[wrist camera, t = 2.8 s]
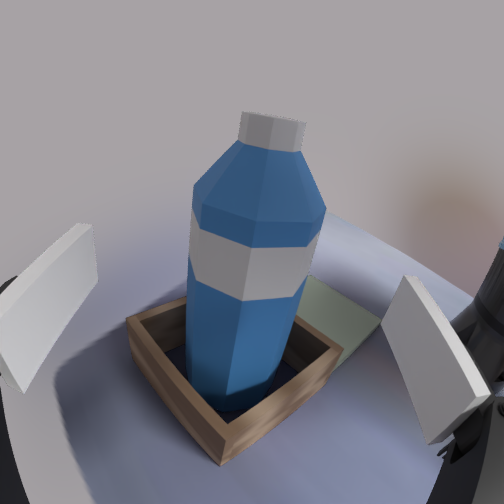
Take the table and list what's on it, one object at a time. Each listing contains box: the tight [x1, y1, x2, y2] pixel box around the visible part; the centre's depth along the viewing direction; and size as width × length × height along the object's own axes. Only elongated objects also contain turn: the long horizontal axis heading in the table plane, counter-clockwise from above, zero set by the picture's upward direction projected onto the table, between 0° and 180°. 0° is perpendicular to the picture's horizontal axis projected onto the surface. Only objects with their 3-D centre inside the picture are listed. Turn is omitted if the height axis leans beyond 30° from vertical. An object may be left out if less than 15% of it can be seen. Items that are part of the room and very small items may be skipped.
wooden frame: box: [126, 296, 344, 466], centre depth 28 cm, size 15×15×6 cm
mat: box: [296, 275, 382, 372], centre depth 40 cm, size 14×14×1 cm
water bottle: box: [186, 112, 326, 412], centre depth 24 cm, size 9×9×25 cm
